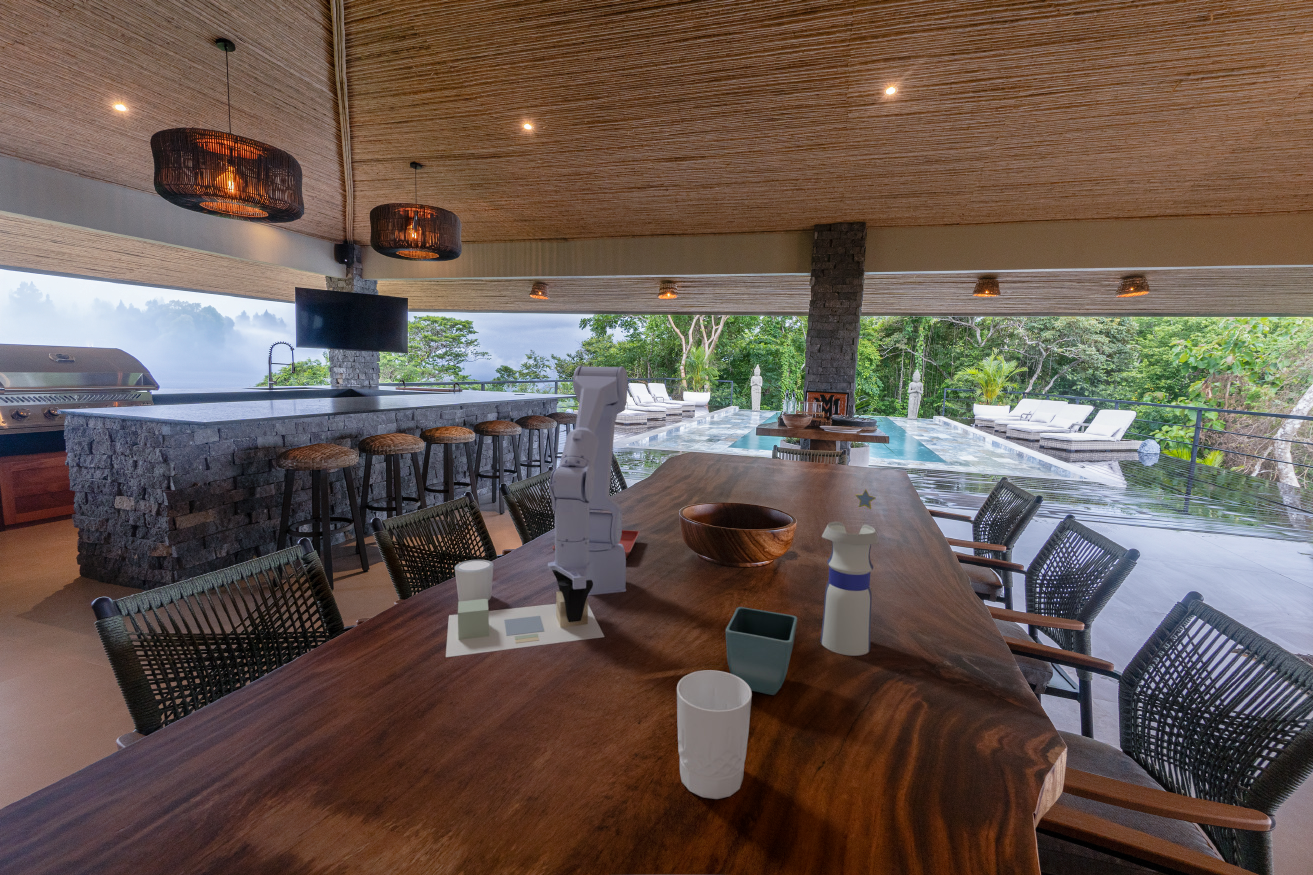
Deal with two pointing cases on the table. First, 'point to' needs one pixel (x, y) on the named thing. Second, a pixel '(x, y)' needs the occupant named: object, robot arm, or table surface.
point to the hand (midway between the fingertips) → (571, 614)
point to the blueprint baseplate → (520, 631)
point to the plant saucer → (625, 540)
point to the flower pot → (760, 647)
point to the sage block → (473, 619)
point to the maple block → (562, 612)
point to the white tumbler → (474, 579)
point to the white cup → (712, 732)
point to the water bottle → (848, 588)
